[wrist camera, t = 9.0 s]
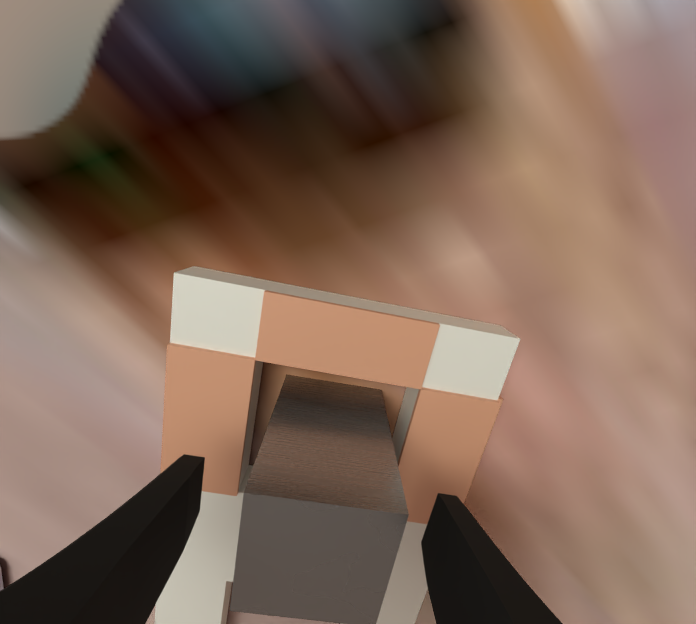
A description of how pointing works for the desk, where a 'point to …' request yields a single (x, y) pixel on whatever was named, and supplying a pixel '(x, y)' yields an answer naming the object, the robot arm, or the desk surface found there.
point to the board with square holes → (329, 357)
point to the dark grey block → (321, 508)
